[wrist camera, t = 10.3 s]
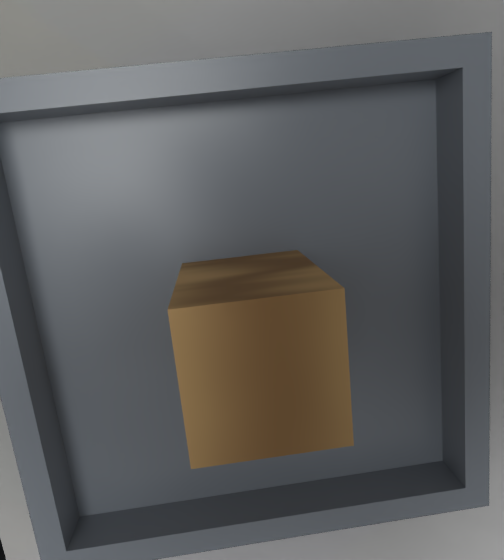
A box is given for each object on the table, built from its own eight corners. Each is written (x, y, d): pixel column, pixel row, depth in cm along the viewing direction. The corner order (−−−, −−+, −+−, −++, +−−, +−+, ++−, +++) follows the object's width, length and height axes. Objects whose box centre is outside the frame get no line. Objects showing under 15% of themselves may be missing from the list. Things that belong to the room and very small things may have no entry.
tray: (453, 51, 18) (491, 31, 15) (457, 468, 22) (488, 505, 19) (-35, 98, 17) (-77, 85, 14) (64, 530, 21) (45, 577, 18)
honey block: (297, 250, 18) (344, 288, 12) (306, 357, 19) (353, 445, 13) (182, 263, 18) (167, 309, 12) (196, 371, 19) (190, 469, 13)
